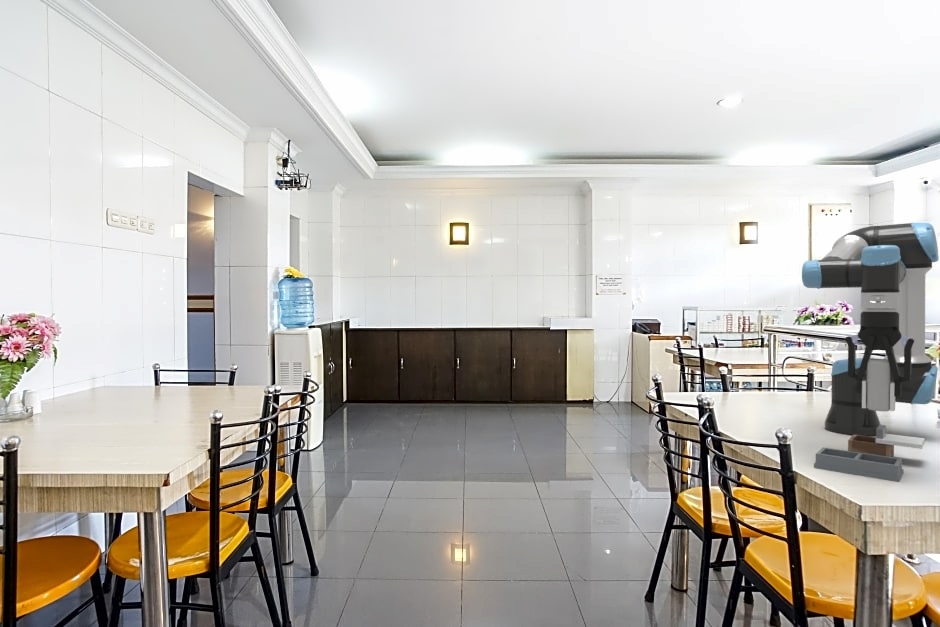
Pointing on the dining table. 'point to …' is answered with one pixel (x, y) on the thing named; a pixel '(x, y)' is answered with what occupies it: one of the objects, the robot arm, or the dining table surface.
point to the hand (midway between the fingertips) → (878, 408)
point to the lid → (897, 439)
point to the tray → (869, 446)
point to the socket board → (860, 464)
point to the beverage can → (878, 385)
